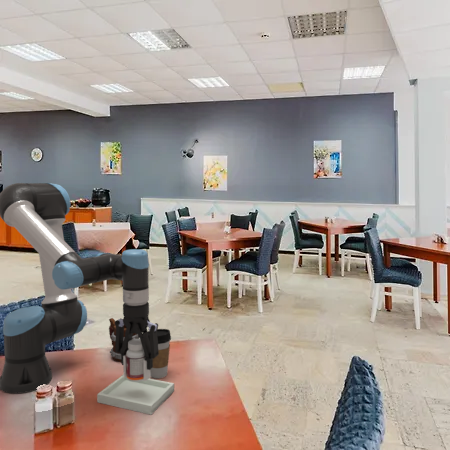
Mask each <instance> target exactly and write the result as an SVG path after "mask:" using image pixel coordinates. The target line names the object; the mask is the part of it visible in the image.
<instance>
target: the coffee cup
mask: <svg viewBox="0 0 450 450" xmlns="http://www.w3.org/2000/svg"><path fill="white" fill-rule="evenodd" d="M147 331H148V338H149V341H150V337H149V332H150V331H149V330H147ZM157 338H158V351H159V355H158V356H156V357H155V358H154V359H153V367H152V368H151V369H150V374H151V377H150V378H151V379H162V378H163V379H164V378H165V377H166V376H168V372H169V371H168V369H169V357H170V349H171V344H170V341H171V339H172V336H171V331H170V330H169V329H168V328H167V329H166V328H158V329H157Z"/></svg>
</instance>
